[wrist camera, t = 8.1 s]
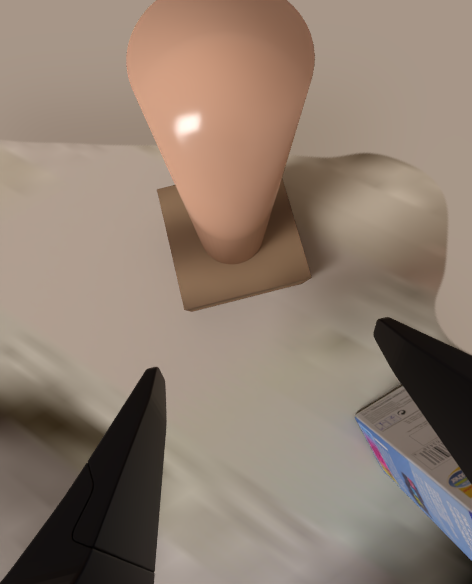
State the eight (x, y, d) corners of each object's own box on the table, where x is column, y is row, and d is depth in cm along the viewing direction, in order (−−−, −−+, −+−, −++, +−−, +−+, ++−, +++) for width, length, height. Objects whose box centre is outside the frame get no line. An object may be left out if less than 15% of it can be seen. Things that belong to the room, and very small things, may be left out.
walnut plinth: (301, 283, 22) (311, 277, 19) (191, 311, 22) (184, 309, 19) (271, 181, 23) (276, 160, 20) (167, 206, 23) (156, 189, 20)
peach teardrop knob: (225, 277, 19) (200, 178, 6) (187, 227, 20) (90, 40, 7) (276, 239, 19) (353, 69, 7) (237, 191, 20) (238, -52, 7)
